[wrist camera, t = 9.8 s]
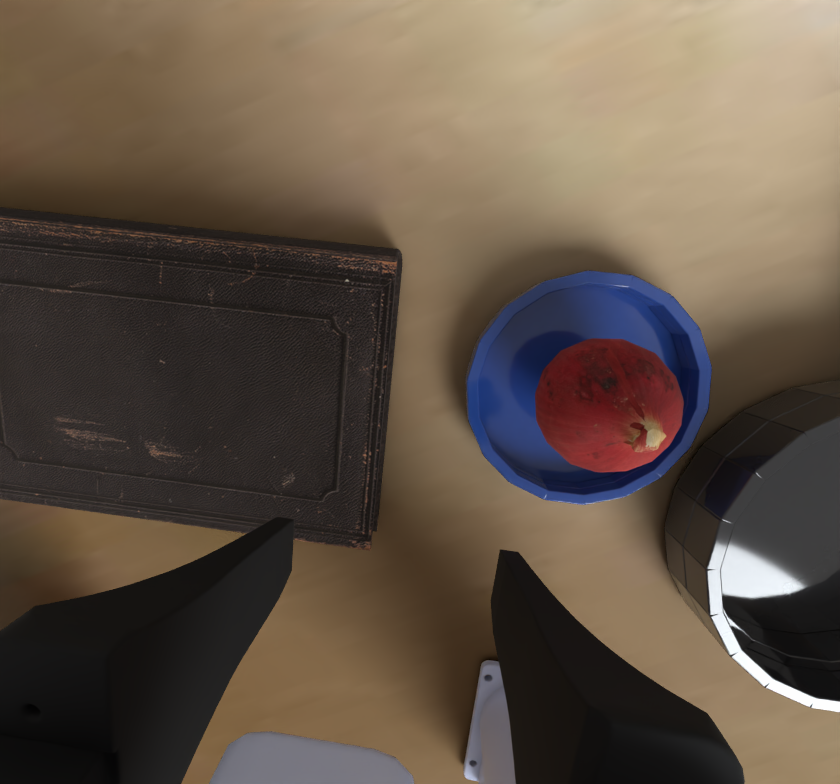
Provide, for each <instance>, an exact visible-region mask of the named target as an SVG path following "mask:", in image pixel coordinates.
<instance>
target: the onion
mask: <svg viewBox="0 0 840 784" xmlns="http://www.w3.org/2000/svg"><path fill="white" fill-rule="evenodd" d="M535 406H536V421H537V423H538V425H539V427H540V429H541V431H542V433H543V435H544V438H545V440H546V442H547V443H548V444H549V445H550V446H551V447H552V448H554V449H555V450H556V451H557V452H558V453H559V454H560V455H561V456H562V457H563V458H564V459H565V460H566V461H568V462H569V463H570V464H572V465H575V466H578V467H582V468H585V469H588V470H591V471H594V472H620V471H628V470H631V469H634V468H636V467H639V466H642V465H644V464H647V463H649V462H652V461H653V460H654V459H655V458H656V457H657V456H659V455H660V454H661V453H662V452H663V451H664V450H665V449H666V448H667V447H668V446H669V445H670V444H671V442H672V440H673V439H674V437H675V435H676V433H677V432H678V430H679V428H680V427H681V424H682V415H683V406H684V401H683V396H682V393H681V390H680V387H679V384H678V381H677V378H676V376H675V375H674V374H673V373H672V372H671V371H670V370H669V368H668V367H667V366H666V365H665V364H664V363H663V361H662V360H661V359H660V358H659V357H658V356H657V355H656V353H654V352H651V351H649V350H647V349H645V348H642V347H640V346H638V345H635V344H633V343H631V342H629V341H626V340H624V339H596V338H593V339H587V340H584V341H582V342H580V343H577V344H575V345H573V346H570V347H568V348H566V349H563V350H561V351H560V352H559V353H558V354H557V355H556V356H555V357H554V358H553V360H552V361H551V362H550V363H549V364H548V365H547V366H546V367H545V368H544V369H543V371H542V374H541V377H540V380H539V383H538V386H537V389H536V392H535Z"/></svg>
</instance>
